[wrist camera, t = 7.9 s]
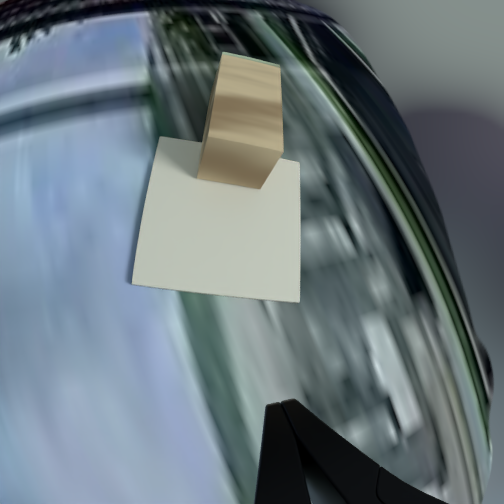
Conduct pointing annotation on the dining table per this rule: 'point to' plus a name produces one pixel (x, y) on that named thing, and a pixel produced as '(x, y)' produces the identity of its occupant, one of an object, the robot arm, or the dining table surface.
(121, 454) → the dining table surface
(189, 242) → the stone tile
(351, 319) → the dining table surface
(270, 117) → the beech block
